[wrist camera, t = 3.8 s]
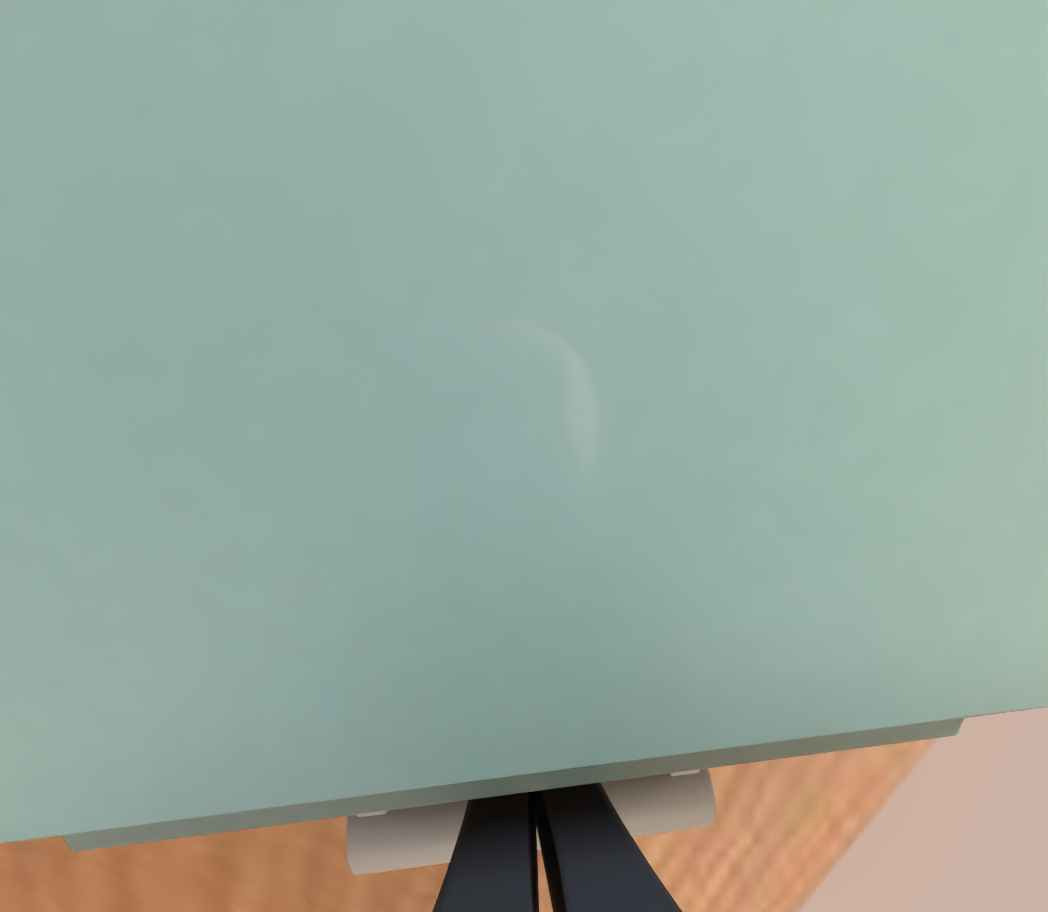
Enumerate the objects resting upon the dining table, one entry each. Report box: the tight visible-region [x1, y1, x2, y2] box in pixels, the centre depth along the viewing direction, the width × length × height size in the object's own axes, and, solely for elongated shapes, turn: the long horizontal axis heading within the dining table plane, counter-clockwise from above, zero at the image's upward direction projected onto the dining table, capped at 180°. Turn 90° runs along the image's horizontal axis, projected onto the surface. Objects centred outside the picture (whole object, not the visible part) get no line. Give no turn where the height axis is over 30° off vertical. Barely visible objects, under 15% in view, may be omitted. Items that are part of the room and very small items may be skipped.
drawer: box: [62, 718, 964, 875], centre depth 9 cm, size 18×12×6 cm, turn 4°
